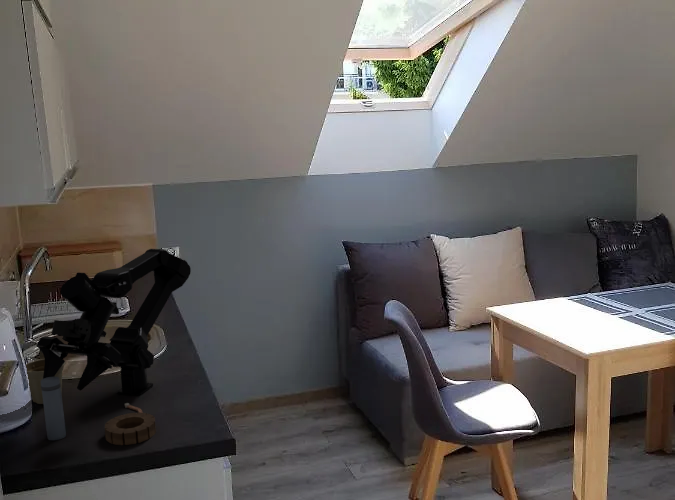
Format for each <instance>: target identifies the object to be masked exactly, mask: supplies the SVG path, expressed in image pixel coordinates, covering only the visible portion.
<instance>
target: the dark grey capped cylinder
mask: <svg viewBox="0 0 675 500" xmlns="http://www.w3.org/2000/svg"><path fill="white" fill-rule="evenodd" d="M41 390H42V396H43V404H42V405H43V410H44V411H43V412H44V419H45V429H46V437H47V439H48V440H49V441H58V440H61V439H64V438H66V436H67V430H66V421H65V415H64V414H65V413H64V412H65V411H64V405H63V397H62V389H61V384H60V378H59V377H47V378H44V379H42V380H41Z"/></svg>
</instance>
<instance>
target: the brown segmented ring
mask: <svg viewBox="0 0 675 500" xmlns="http://www.w3.org/2000/svg"><path fill="white" fill-rule="evenodd" d="M156 433H157V428H156V417H155V416H154V415H152V414H150V413H147V412H143V413H139V412H138V411H136V412H130V413H129V412H128V413H124V414H120V415H118V416H115V417H113V418H111V419H109V420H108V421H107V422H105V424H104V435H105V440H106V442H108V443H109V444H111V445H112V444H113V445H116V446H124V445H125V446H128V445H129V446H131V445H137V443H138V444H140V443H142V442H145V441H147V440H149V439H151V438H152V437H153V436H155V434H156Z"/></svg>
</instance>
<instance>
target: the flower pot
mask: <svg viewBox="0 0 675 500" xmlns="http://www.w3.org/2000/svg"><path fill="white" fill-rule="evenodd" d="M25 365H26V367H27V374H28V379H29V383H28V387H29V386H30V387H29V390H30V394H31V398H32V401H33V403H36V404H37V405H43V396H42V390H41V380H42V379H43V375H44V365H45V358H42V359H36V360H34V361H30V362H27V363H26V364H25ZM65 365H66V361H65V362H64V364H63V365H62V366H61V368H60V369H59V370H58V372H57V373H56V375H55V376H54V377H59V378H60V384H61V390H62V389H63V384H62V383H63V372H64V367H65Z"/></svg>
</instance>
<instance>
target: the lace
mask: <svg viewBox="0 0 675 500" xmlns="http://www.w3.org/2000/svg"><path fill="white" fill-rule="evenodd" d="M124 407H125V409H130V410H133V411H136V412H137V413H138V412H139V413H144V412H143V410H142V409H141V408H140V407H137V406H134V405H131V404H130V403H129V402H126V403H124Z"/></svg>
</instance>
